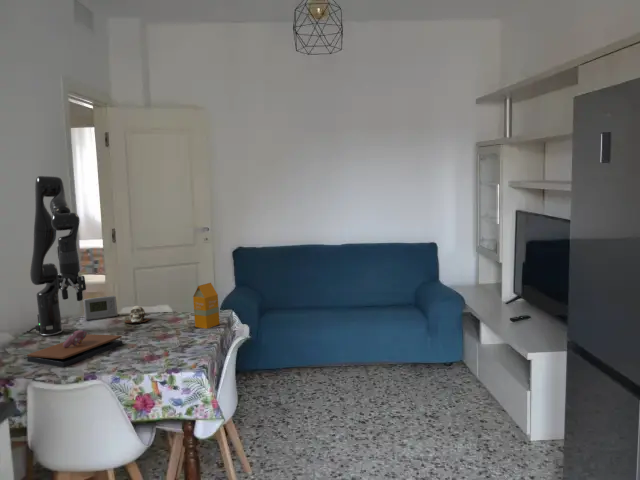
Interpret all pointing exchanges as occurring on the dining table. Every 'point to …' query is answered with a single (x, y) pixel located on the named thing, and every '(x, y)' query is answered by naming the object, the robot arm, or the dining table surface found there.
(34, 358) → the black flat slab
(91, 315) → the digital clock
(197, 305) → the orange juice
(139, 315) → the skull
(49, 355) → the tablet cover
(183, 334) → the dining table surface
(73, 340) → the video game controller
